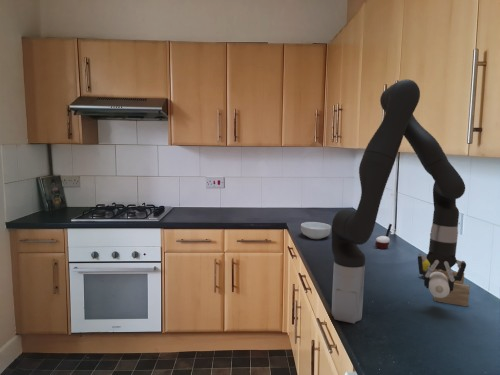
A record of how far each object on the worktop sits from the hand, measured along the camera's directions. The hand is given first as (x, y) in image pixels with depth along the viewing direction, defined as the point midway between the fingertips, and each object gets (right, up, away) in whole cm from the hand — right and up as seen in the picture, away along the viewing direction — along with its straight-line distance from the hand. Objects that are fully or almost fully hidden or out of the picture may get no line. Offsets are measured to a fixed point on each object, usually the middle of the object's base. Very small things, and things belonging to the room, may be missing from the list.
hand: (438, 289), depth 115 cm
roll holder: (+10, -6, +12) cm, 17 cm away
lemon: (+11, -4, +28) cm, 31 cm away
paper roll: (0, +2, 0) cm, 2 cm away
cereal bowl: (-24, +5, +86) cm, 89 cm away
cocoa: (+7, +2, +68) cm, 68 cm away
